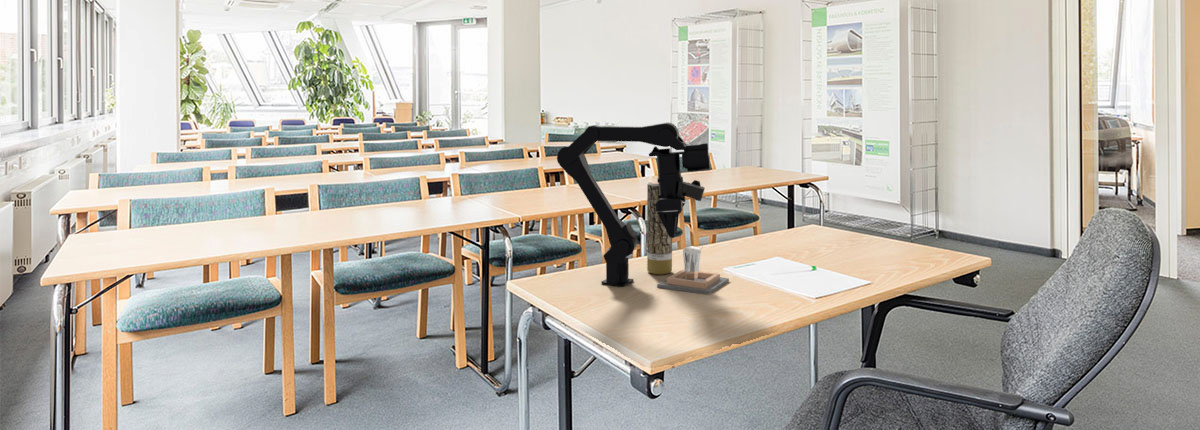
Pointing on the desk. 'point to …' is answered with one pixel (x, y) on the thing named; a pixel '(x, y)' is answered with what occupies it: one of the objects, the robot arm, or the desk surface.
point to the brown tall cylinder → (657, 236)
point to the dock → (694, 282)
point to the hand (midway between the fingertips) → (673, 234)
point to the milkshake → (691, 262)
